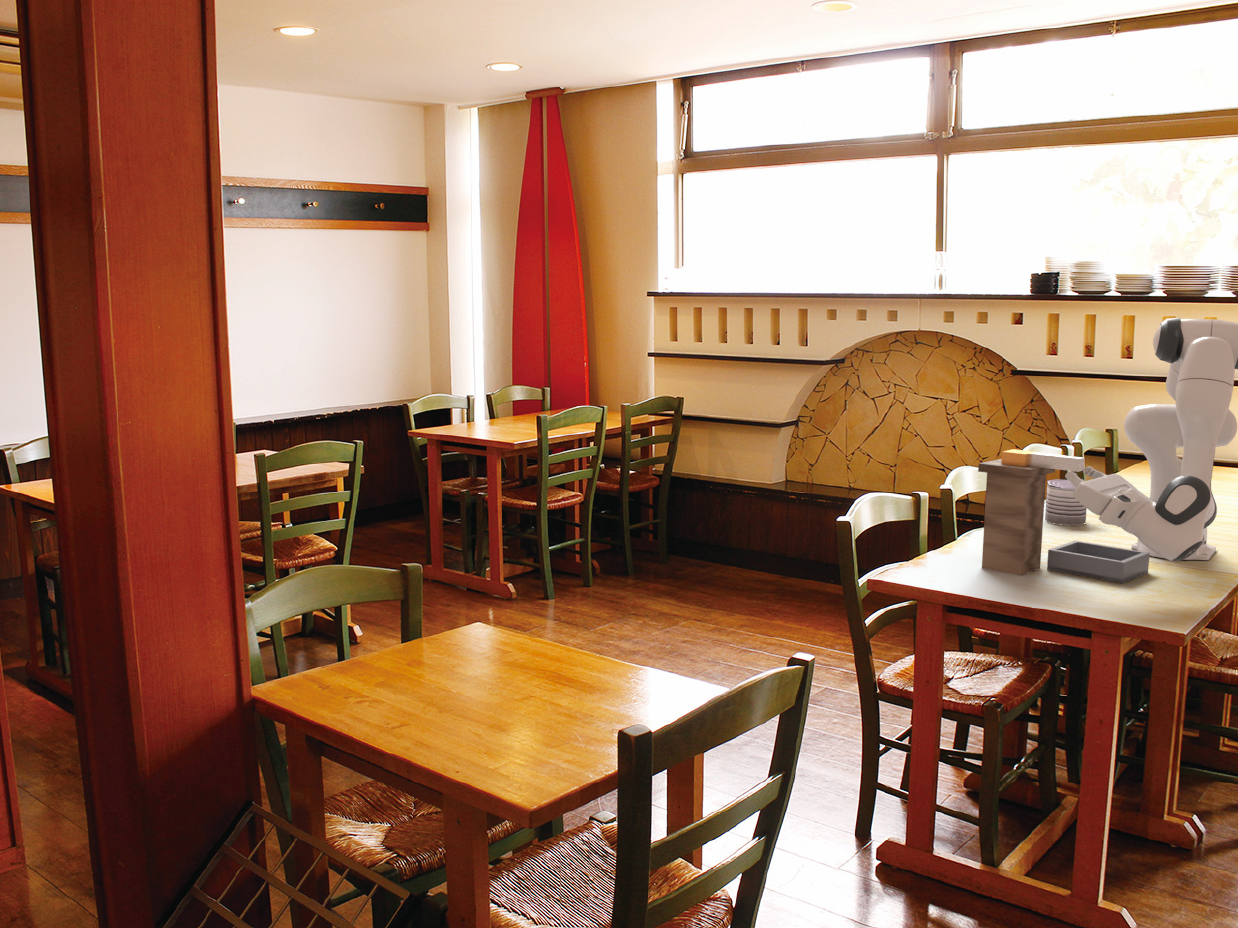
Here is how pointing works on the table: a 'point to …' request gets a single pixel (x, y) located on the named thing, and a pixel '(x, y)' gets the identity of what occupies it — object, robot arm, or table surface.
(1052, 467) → the white and tan bar
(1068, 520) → the can
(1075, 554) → the tray
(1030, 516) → the post
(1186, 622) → the table surface
